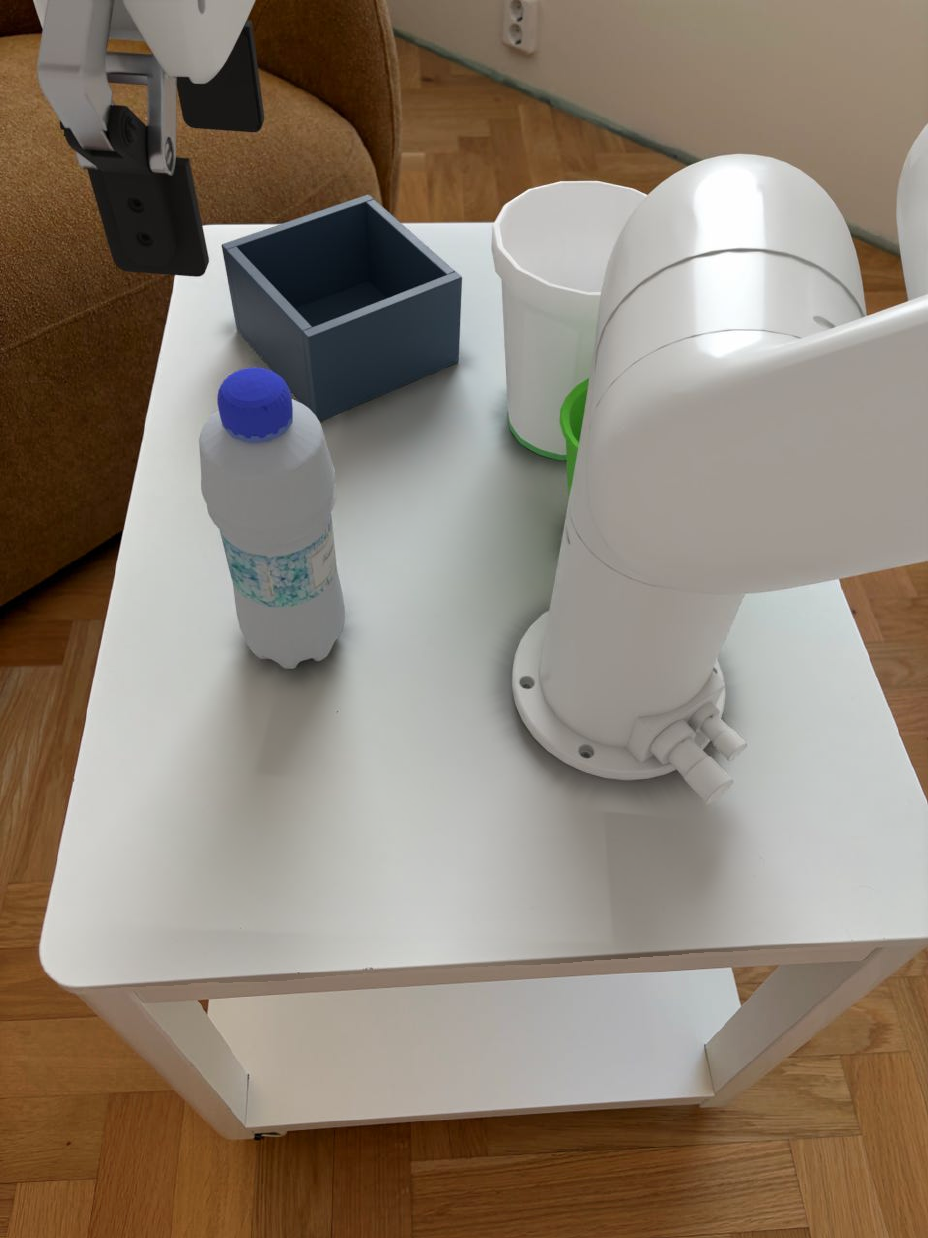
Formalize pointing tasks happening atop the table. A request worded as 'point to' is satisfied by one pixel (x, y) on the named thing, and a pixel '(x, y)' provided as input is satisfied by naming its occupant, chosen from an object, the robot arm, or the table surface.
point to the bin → (344, 304)
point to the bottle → (274, 516)
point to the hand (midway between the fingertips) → (196, 192)
